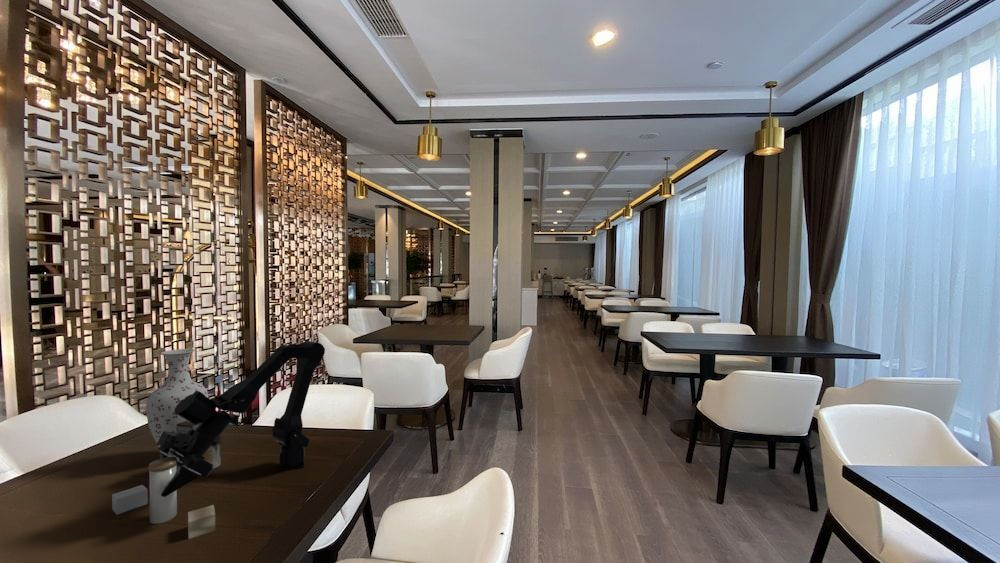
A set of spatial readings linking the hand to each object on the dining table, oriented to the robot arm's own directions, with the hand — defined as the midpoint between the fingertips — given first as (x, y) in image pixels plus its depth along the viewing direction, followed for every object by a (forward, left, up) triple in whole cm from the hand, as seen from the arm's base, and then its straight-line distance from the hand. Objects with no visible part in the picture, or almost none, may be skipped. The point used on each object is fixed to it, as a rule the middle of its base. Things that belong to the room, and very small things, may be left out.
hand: (156, 491), depth 99 cm
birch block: (-11, +9, -7) cm, 16 cm away
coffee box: (-3, -26, -7) cm, 27 cm away
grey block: (+8, -10, -7) cm, 15 cm away
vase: (+6, -41, -7) cm, 42 cm away
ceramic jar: (-1, -1, -7) cm, 7 cm away
